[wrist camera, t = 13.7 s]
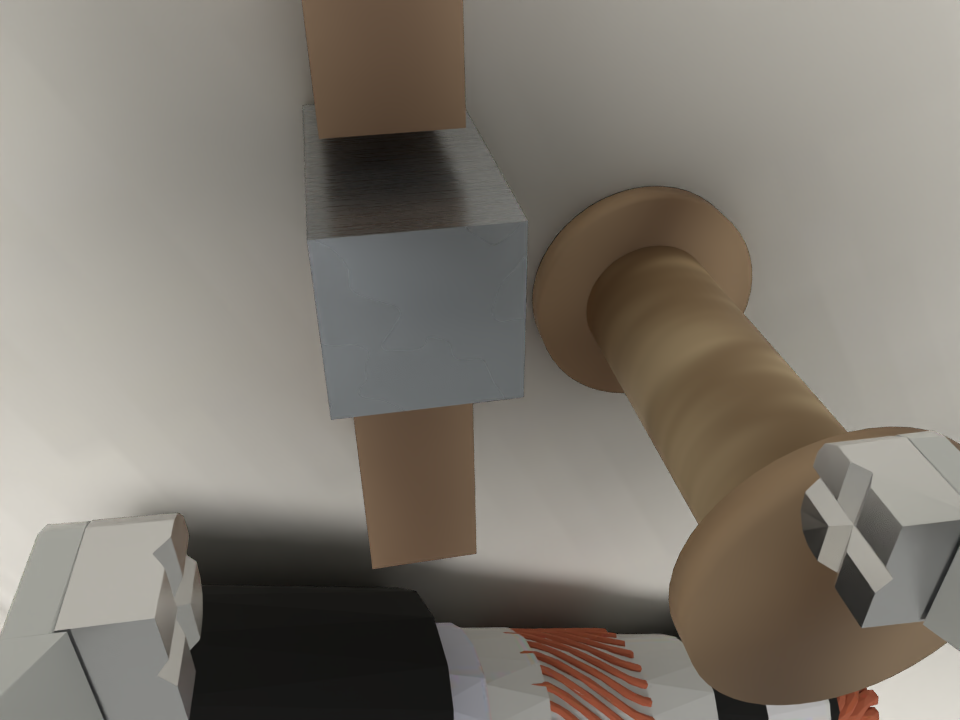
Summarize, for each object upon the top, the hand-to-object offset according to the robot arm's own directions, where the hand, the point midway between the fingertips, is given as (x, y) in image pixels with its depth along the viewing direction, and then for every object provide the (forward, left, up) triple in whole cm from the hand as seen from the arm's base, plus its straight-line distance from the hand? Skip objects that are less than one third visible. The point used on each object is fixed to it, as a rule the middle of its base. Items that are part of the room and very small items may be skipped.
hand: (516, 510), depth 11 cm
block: (0, +1, -14) cm, 14 cm away
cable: (-4, +23, -16) cm, 28 cm away
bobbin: (-7, +6, -15) cm, 18 cm away
